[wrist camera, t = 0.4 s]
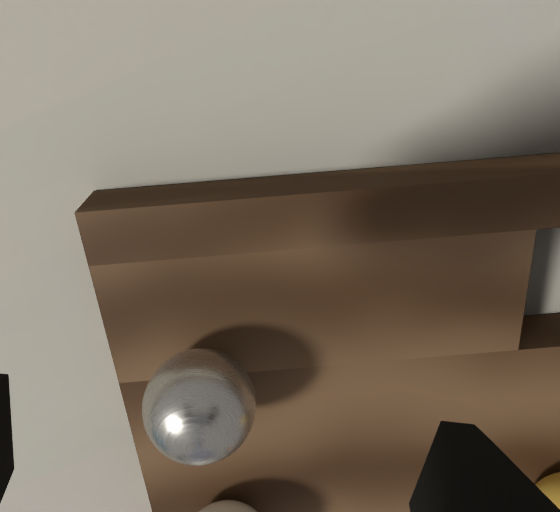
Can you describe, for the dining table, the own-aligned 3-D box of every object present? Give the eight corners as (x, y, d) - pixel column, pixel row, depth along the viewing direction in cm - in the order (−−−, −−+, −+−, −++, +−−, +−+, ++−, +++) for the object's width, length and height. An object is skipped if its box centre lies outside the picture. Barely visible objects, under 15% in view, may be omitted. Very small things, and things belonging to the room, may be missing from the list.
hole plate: (682, 509, 25) (715, 549, 23) (180, 551, 25) (173, 594, 23) (826, 130, 17) (894, 145, 15) (94, 190, 17) (74, 212, 15)
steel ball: (260, 405, 19) (261, 487, 15) (162, 413, 19) (143, 497, 15) (251, 322, 17) (249, 394, 14) (144, 331, 17) (118, 405, 14)
